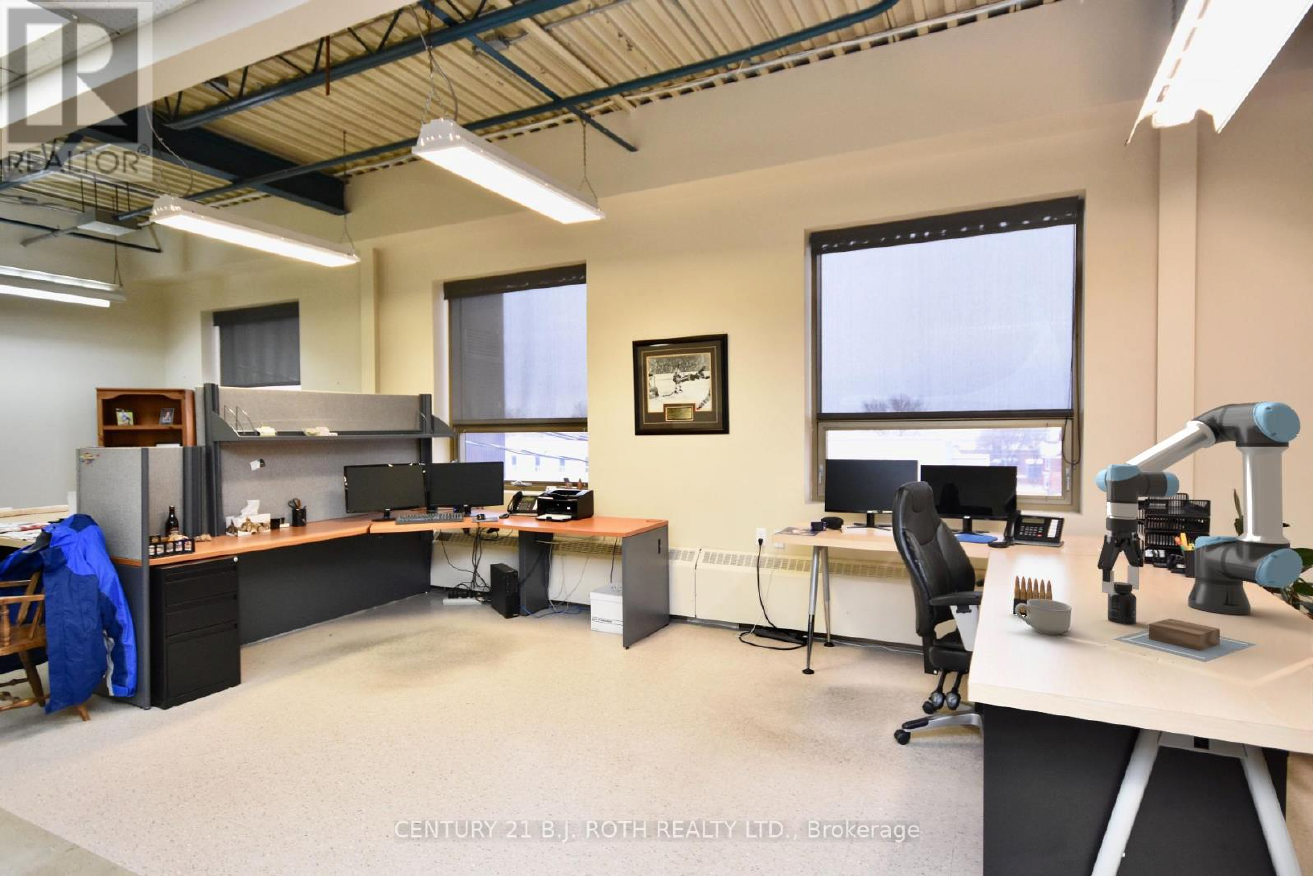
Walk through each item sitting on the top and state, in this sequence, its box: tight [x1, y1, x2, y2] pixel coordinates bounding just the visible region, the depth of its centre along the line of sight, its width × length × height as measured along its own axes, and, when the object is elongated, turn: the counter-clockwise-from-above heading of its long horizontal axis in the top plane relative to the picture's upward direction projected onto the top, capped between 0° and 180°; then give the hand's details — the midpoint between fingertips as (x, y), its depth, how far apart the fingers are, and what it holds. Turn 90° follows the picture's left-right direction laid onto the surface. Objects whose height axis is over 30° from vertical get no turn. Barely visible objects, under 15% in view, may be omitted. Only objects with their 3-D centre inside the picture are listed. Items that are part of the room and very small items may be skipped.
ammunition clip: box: [1012, 575, 1053, 616], centre depth 197 cm, size 11×2×12 cm, turn 41°
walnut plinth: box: [1148, 618, 1221, 651], centre depth 170 cm, size 11×11×4 cm
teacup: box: [1015, 599, 1073, 636], centre depth 183 cm, size 14×11×8 cm
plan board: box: [1112, 629, 1257, 663], centre depth 170 cm, size 28×20×1 cm
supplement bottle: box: [1107, 581, 1137, 626], centre depth 190 cm, size 7×7×12 cm
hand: (1120, 591), depth 190 cm, fingers open, 13 cm apart
